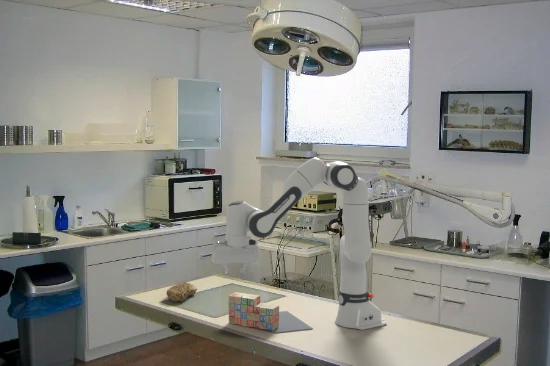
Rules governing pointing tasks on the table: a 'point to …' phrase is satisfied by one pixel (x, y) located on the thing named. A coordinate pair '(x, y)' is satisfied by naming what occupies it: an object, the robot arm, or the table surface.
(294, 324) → the mat
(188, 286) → the brown rock
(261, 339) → the table surface
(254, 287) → the table surface
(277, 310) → the stack of blocks
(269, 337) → the table surface
